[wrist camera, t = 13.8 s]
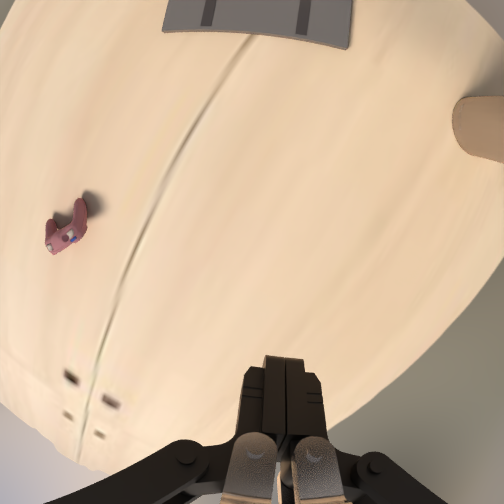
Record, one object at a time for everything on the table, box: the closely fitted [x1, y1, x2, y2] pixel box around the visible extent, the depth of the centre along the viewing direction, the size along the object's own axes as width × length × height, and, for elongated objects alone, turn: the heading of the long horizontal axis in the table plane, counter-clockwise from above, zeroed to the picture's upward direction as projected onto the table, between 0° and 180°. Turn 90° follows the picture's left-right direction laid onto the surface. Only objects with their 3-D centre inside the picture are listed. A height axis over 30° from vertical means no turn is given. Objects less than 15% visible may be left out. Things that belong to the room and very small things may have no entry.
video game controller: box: [45, 198, 87, 255], centre depth 38 cm, size 10×5×7 cm, turn 112°
